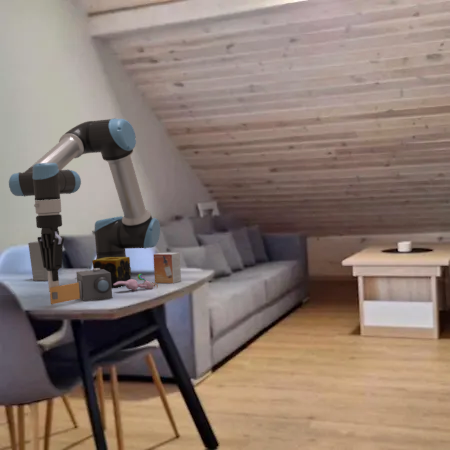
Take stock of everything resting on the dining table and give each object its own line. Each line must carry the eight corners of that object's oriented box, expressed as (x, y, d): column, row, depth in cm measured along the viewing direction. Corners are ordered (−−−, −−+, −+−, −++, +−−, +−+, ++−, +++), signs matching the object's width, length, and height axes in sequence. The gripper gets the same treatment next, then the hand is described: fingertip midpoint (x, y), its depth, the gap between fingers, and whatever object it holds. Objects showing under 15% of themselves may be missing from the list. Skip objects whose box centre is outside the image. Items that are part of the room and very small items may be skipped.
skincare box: (58, 278, 264) (55, 239, 263) (44, 281, 259) (41, 241, 258) (44, 278, 269) (42, 239, 268) (30, 280, 264) (27, 241, 263)
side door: (81, 298, 207) (79, 281, 206) (84, 298, 205) (83, 281, 205) (50, 304, 198) (49, 286, 198) (54, 304, 197) (52, 286, 197)
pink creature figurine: (153, 290, 228) (110, 288, 222) (154, 273, 228) (112, 271, 222) (159, 293, 223) (115, 291, 216) (160, 275, 223) (117, 273, 216)
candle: (92, 288, 234) (90, 260, 233) (107, 283, 243) (105, 256, 243) (118, 288, 230) (116, 259, 230) (131, 283, 240) (130, 256, 239)
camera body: (77, 295, 217) (75, 269, 217) (105, 292, 221) (103, 266, 220) (84, 302, 204) (82, 274, 204) (113, 298, 207) (111, 271, 207)
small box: (154, 283, 237) (152, 254, 237) (163, 280, 242) (161, 252, 242) (173, 283, 233) (171, 254, 233) (181, 281, 238) (179, 252, 238)
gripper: (27, 215, 202) (33, 291, 203) (46, 215, 192) (52, 295, 193) (50, 213, 206) (55, 288, 208) (70, 213, 197) (75, 291, 198)
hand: (54, 291), depth 201 cm, fingers closed
